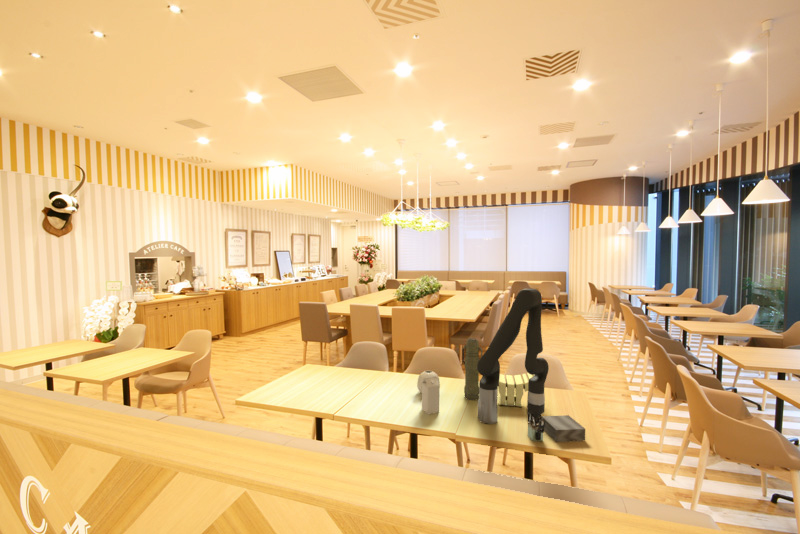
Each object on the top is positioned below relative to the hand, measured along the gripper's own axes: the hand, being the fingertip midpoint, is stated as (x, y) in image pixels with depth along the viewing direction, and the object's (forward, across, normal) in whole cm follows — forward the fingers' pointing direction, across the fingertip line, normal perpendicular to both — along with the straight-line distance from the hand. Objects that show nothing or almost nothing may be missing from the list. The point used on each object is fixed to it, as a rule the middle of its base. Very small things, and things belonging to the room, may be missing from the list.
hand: (535, 436), depth 170 cm
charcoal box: (+1, -3, +15) cm, 15 cm away
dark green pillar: (+1, -50, -16) cm, 53 cm away
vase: (+1, -58, -41) cm, 71 cm away
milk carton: (+1, -33, -44) cm, 55 cm away
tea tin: (+1, 0, 0) cm, 1 cm away
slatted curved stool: (+1, -41, +4) cm, 41 cm away
